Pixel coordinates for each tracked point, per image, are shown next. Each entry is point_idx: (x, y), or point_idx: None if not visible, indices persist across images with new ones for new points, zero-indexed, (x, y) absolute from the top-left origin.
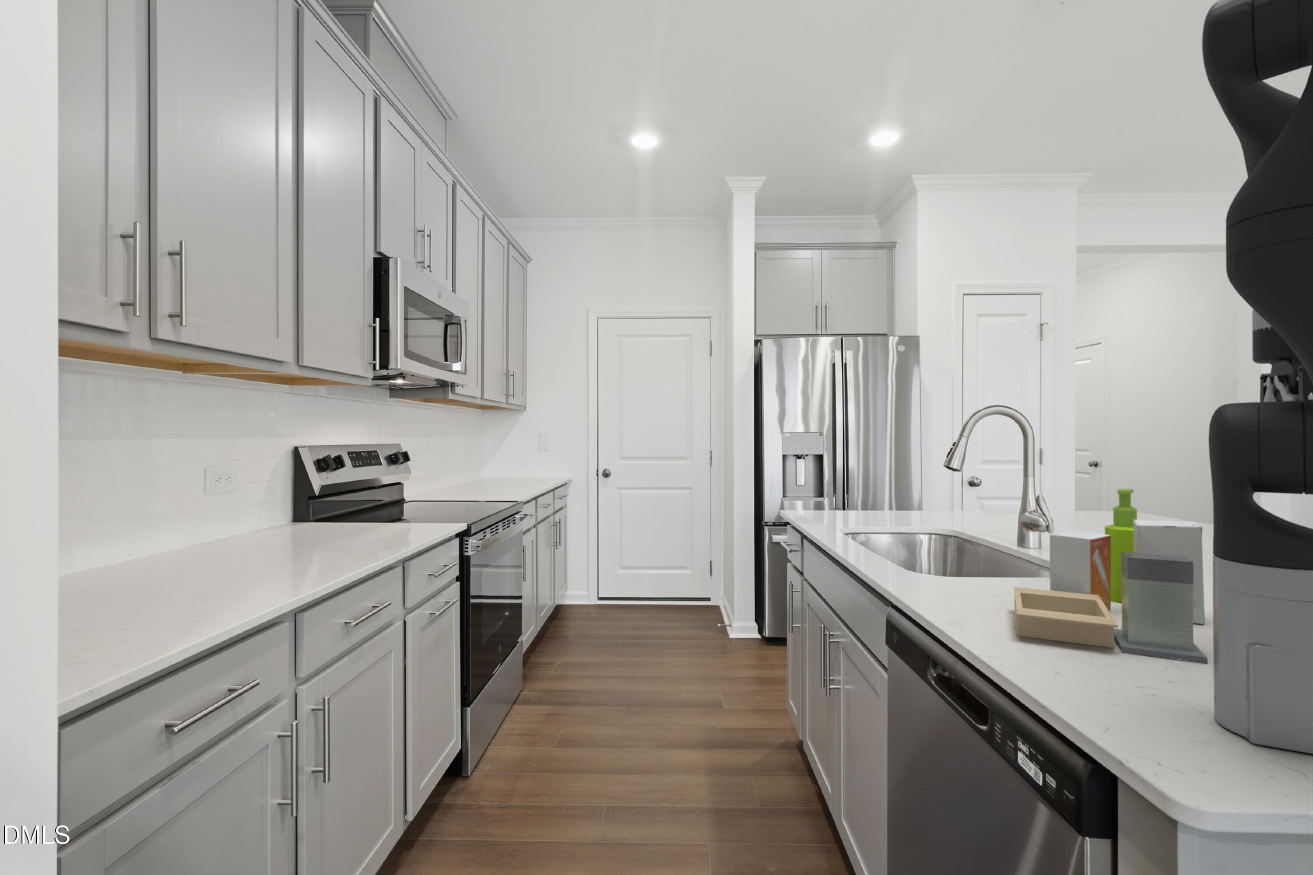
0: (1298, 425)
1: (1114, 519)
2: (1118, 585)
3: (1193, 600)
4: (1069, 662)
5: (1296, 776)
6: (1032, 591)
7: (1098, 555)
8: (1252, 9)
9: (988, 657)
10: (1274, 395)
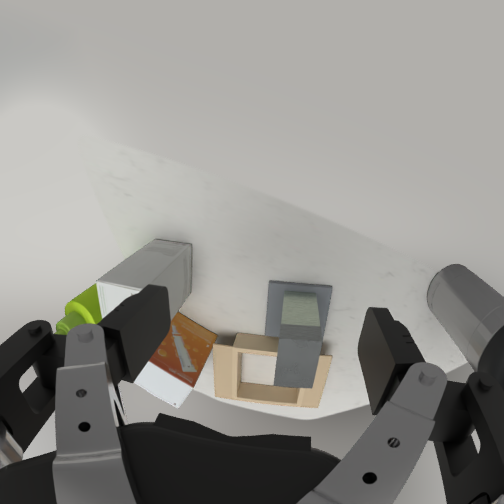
0: None
1: None
2: None
3: (183, 261)
4: (357, 370)
5: None
6: (226, 388)
7: (182, 363)
8: None
9: (359, 405)
10: (22, 409)
